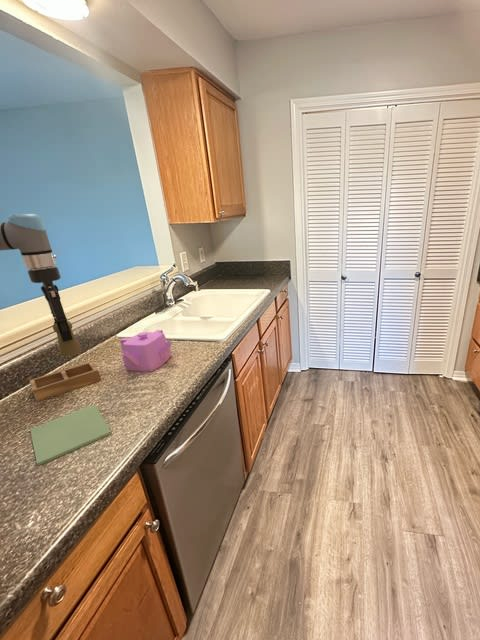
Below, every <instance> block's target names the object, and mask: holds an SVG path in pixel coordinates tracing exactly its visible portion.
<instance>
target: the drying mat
mask: <svg viewBox="0 0 480 640" xmlns="http://www.w3.org/2000/svg"><path fill="white" fill-rule="evenodd" d="M29 431H30V436H31V441H32V446H33V451H34V456H35V462H36V465H37V466H41V465H44V464H46V463H48V462H50V461H53V460H55V459H57V458H60V457H61V456H65V455H66V454H69V453H71V452H73V451H75V450H77V449H80V448H83V447H84V446H87V445H90V444H92V443H94V442H96V441H98V440H101V439H103V438H106V437H107V436H110V435H112V430H111V428H110V427H109V425H108V424H107V422H106V420H105V418H104V417H103V414H102V413H101V411H100V410H99V408H98V406H97V404H96V403H95V404H92V405H89V406H86V407H84V408H81V409H79V410H76V411H73V412H70V413H68V414H65V415H62V416H60V417H57V418H55V419H51V420H49V421H46V422H44V423H42V424H39V425H35V426H33V427H31V428H29Z"/></svg>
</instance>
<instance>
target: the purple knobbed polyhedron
mask: <svg viewBox="0 0 480 640" xmlns="http://www.w3.org/2000/svg"><path fill="white" fill-rule="evenodd" d="M119 341H120V347H121V353H122V354H121V356H122V362H123V365H124V367H125V368H126V370H127V371H131V372H146V373H147V372H148V373H149V372H153V371H156V370H157V369H158V368H160V367H161V366H162V365H164V364H166V362H167V361H168V360H169V359H170V358H171V356H172V350H171V346H172V344H173V341H170V340H168V338H167V337H166V335H165V333H164V331H163V330H162V329H156V330H155V331H151V332H150V331H142V332H139V333H136V334H135V335H134V336H132V337H123V338H120V340H119Z"/></svg>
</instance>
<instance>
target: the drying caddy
mask: <svg viewBox="0 0 480 640" xmlns="http://www.w3.org/2000/svg"><path fill="white" fill-rule="evenodd" d="M99 380H100V381H102V378H101V375H100V372H99V370H98V368H97V367H96V365H95V364H94V362H93V361H92V360H91V361H89V362H84V363H81V364H78V365H74V366H71V367H68V368H65V369H62V370H61V369H60V370H58V371H55V372H52V373H47V374H45V375H42V376H38V377H35V378H30V379H29V384H30V388H31V392H32V394H33V396H34V399H35V401H36V403H38V402H41V401H43V400H46V399H50V398H53V397H56V396H58V395H61V394H64V393H67V392H70V391H73V390H76V389H80V388H81V387H85V386H87V385H91V384H94V383H97V382H99Z"/></svg>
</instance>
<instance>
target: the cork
mask: <svg viewBox="0 0 480 640" xmlns="http://www.w3.org/2000/svg"><path fill="white" fill-rule="evenodd" d="M67 323H68V326H69V329H70V332H71V335H72V338H73V340H69V341H65V342H63V340H62V337H61V334H60V332H59V329H58V326H57V323H56V324H54V323H53V324H52V330H53V331H54V333H56V336H57V337H56V338H57V343H58V347H59V348H58V349H59V354H60V356H61V357H70V356H74V355H76V354H79V353H81V352H82V350H83V349H82V348H81V346H80V343H79V341H78V340H77V338H76V336H75V333H74V331H73V324H72V322H71V321H70V320H67Z"/></svg>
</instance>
